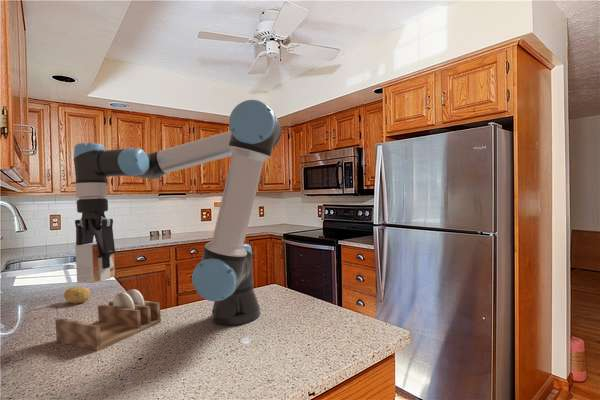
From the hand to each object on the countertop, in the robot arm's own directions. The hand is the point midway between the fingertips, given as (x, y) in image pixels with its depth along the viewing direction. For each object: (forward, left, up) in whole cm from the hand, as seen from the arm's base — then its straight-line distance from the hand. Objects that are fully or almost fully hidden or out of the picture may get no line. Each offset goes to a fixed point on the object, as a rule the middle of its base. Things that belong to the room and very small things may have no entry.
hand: (96, 278), depth 93 cm
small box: (0, 0, -1) cm, 1 cm away
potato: (+41, -18, -17) cm, 48 cm away
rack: (0, -4, -16) cm, 17 cm away
